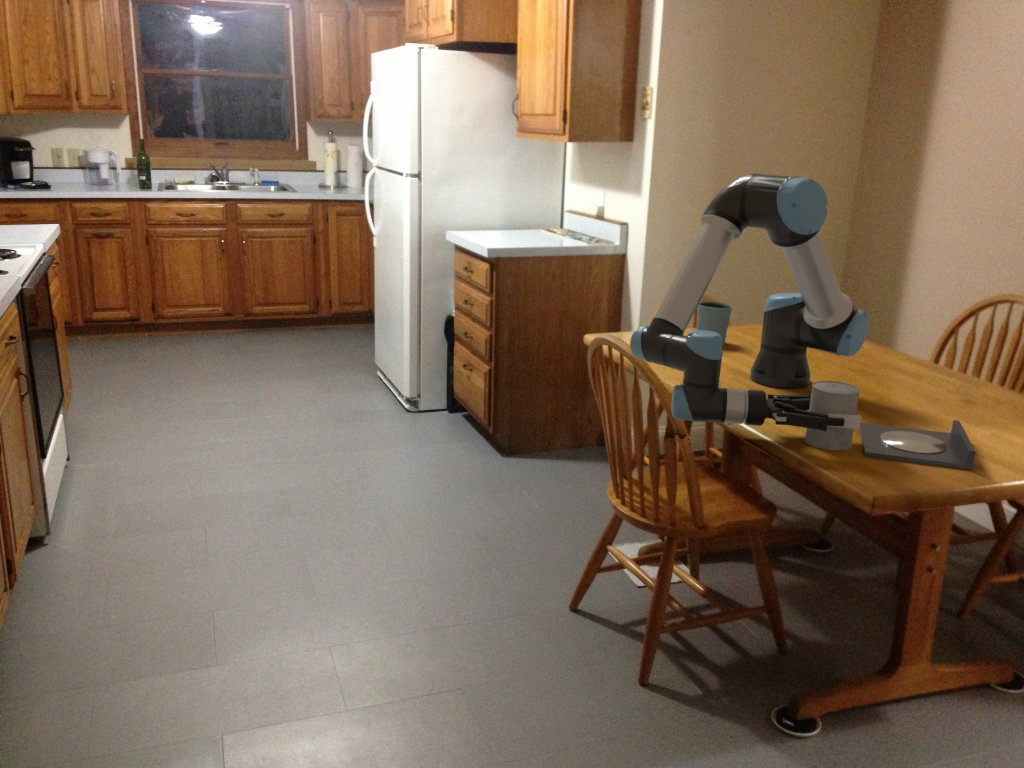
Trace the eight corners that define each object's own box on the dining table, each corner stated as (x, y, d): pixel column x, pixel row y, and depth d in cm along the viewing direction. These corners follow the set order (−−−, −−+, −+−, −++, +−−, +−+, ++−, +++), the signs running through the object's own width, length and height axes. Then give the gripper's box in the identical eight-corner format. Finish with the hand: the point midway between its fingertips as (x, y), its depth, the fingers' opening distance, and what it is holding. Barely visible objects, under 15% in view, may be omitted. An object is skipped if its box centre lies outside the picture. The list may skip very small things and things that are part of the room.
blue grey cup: (688, 339, 276) (691, 301, 272) (717, 338, 279) (721, 300, 275) (704, 347, 266) (708, 308, 263) (734, 346, 269) (738, 307, 266)
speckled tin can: (858, 442, 190) (867, 387, 186) (841, 454, 183) (849, 397, 179) (815, 431, 196) (823, 378, 192) (797, 442, 189) (804, 386, 185)
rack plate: (859, 426, 200) (861, 409, 199) (956, 438, 195) (959, 420, 193) (864, 456, 182) (867, 438, 181) (972, 470, 176) (975, 451, 175)
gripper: (737, 407, 201) (839, 414, 199) (749, 441, 180) (864, 449, 177) (741, 376, 199) (844, 382, 196) (753, 406, 178) (869, 413, 175)
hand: (853, 414), depth 187 cm, fingers closed on speckled tin can, 9 cm apart
